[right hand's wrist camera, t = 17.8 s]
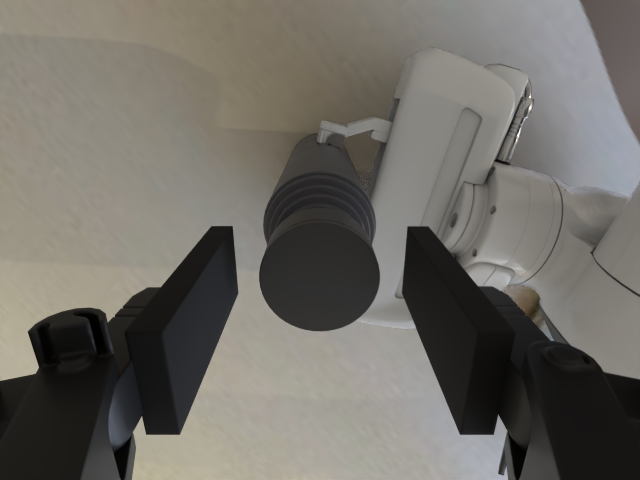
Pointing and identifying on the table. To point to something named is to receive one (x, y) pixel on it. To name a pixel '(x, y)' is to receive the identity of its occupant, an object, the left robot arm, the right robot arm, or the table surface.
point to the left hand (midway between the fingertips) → (307, 176)
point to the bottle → (319, 187)
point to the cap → (319, 270)
